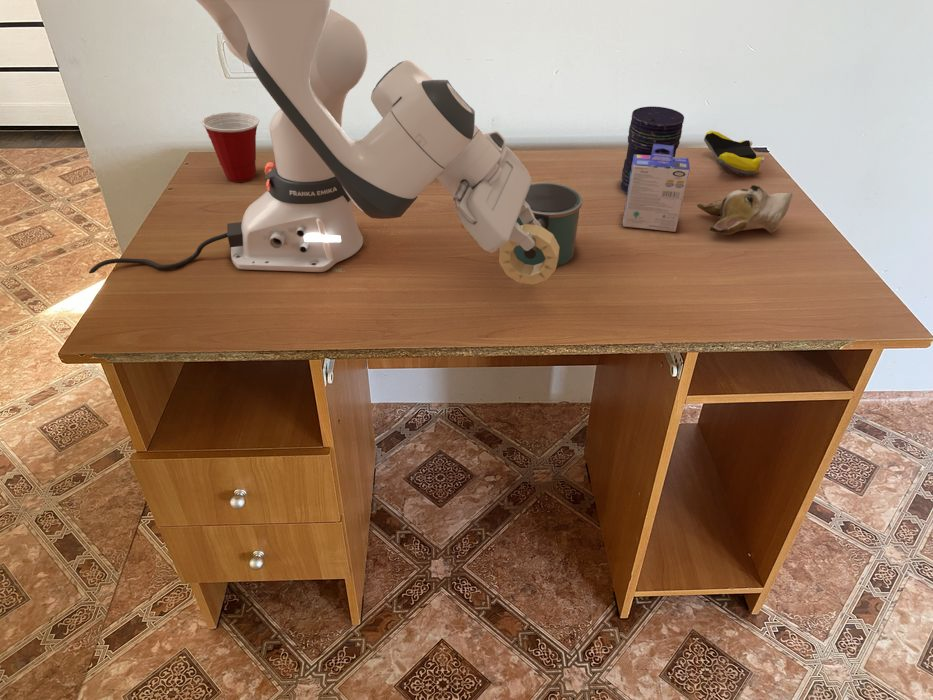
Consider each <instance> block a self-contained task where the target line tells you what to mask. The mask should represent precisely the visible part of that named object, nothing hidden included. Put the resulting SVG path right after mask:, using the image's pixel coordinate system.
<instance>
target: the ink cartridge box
mask: <svg viewBox="0 0 933 700" xmlns="http://www.w3.org/2000/svg"><path fill="white" fill-rule="evenodd" d="M657 149H666V150H668V151H670V153H669V154H660V153H656V152H655V150H657ZM673 149H674V146H671V145H661V144H653V149H652V153H651V155H637V154H634V156H633V162H632V168H631V173H630V180H629V186H628V192H627V194H626V199H625V206H624V212H623V217H622V224H621V225H622V227H625V228H635V229H643V230H644V229H645V230H654V231H663V232H673V233H675V232H677V229H678V228H677V227H678V223H679V220H680V219H679V218H680V215H681V210H682V206H683V201H684V197H685V192H686V187H687V183H688V179H689V176H690V175H689V174H690V170H691V167H690V161H689V157H680V156H679V157H677V156H675V157H673Z"/></svg>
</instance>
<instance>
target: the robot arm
mask: <svg viewBox="0 0 933 700" xmlns="http://www.w3.org/2000/svg"><path fill="white" fill-rule="evenodd" d="M195 1H196V2H197V3H198V4H199V5H201V7H202V8H203V9H204V10H205V11H206V12H207V13H208V15H209V16H210V17H211V19H212V20H213V21H214V23H216V26H217V27H218V28H219V29H220V30H221V32H222V37H223V40H224V43H225V45H226V46H227V49H228V50H229V52H230V53H231V54H233V56H235V57H236V58H237V59H238V60H240V61H241V62H242V63H244V64H245V65H247V66H248V67H249V68H251V69H252V72H254V74H255V76H256V78H257V79H258V80H259V82H260V83H261V85H262V86H263V87H264V89H265V90H266V91H267V93H268V94H269V95H270V97H271V98H272V99H273V101H274V102H275V103H276V105H277V106H278V108H280V109H278V111H277V112H275V113H274V114H273V115H272V117H271V119H270V122H269V133H270V134H269V135H270V140H271V145H272V150H273V156H274V157H273V158H274V161H269V162H266V164H265V165H264V174H265V186H266V189H267V191H265V192H264V193H262V194H261V195H260V196H259V197H257V199H256V200H254V201H253V202H251V204H250V205H248V207H247V208H246V210H245V212H244V214H243V216H242V220H241V221H238V222H230V223H227V225H226V227H227V228H226V231H227V232H224V233H221V234H218V235H216V236H215V235H214V236H213V237H210V238H208V239H206V240H204V241H203V242H201V243H200V244H199V246H197V247H196V250H195V252H194V253H193V254H191V255H190V256H189V257H187V258H185V259H183V260H181V261H179V262H175V263H169V264H160V263H157V262H155V261H153V260H150V259H146V258H121V257H120V258H117V257H116V258H108V259H105V260H102V261H100V262H98V263H96V264H95V265H93V267H91V268H90V270H89V271H88V274H94V273H96V272H97V271H98V270H99V269H101V268H102V267H104V266H107V265H111V264H145V265H149V266H151V267H153V268H156V269H158V270H172V269H177V268H180V267H184V266H186V265H187V264H189V263H191V262H192V261H194V260H195V259H197V258H198V257H199V256H200V254H201V253H202V251H203V249H204V248H205V247H206V246H208V245H210V244H212V243H214V242H217V241H220V240H225V239H226V238H227V240H228V244H229V248H230V257H231V262H232V264H233V266H235V267H236V268H237V269H238V270H250V271H251V270H253V271H277V272H279V271H280V272H306V273H307V272H308V273H324V272H326V271H328V270H330V269H331V268H332V267H334V265H336V264H337V263H340V262H341V261H344V260H346V259H349V258H350V257H352V256H354V255H355V254H357V253H358V252H359V251H360V250H361V248H362V247H363V245H364V237H363V234H362V232H361V231H360V228H359V225H358V222H357V219H356V215H355V212H354V208H353V204H354V205H355V206H356V208H357V209H359V210H360V211H361V213H364V214H366V216H368V217H369V218H371V219H378V220H379V219H380V220H387V219H397V218H401V217H402V216H403V215H404V214H405V213H406V211H407V210H408V209H409V208H410V207H411V206H412V205H413V204H414V202H415V201H416V200H417V199H418V197H419V195H420V194H422V192H423V191H425V189H427V188H428V187H429V186H430V185H431V184H432V183H433V182H434V181H435V180H437V181H438V182H439V183H440V184H441V186H443V188H444V189H445V190H446V191H447V192H448V193H449V194H450V195H451V196H452V200H453V201H454V205H455V210H456V215H457V217H458V220H459V221H460V223H461V224H462V226H463V227H464V228H465V229H466V231H467V233H469V235H470V236H471V237H472V238H473V240H474V241H475V242H476V243H477V244H478V245H479V246H480V248H481V249H483V251H485V252H487V253H490V254H493V253H494V252H495V253H496V251H498V250H500V248H501V247H502V246H503V245H504V244H506V243H507V242H508V240H511V241H513V242H516V243H518V244H519V245H520V246H521V247H522V248H523V249H524V250H525V251H529V250H530V249H531V248H533V247H534V245H535V242H536V239H535V238H534V237H533V236H532V234H531V233H530V232H528V233H526V232H524V231H523V230H522V229H520V225H519V224H518V223H517V222H516V221H517V218H518V217H519V218H520V220H521V221H522V223H523V224H531V225H539V226H541V224H540V223H539V222H538V221H537V220H536V218H535V217H534V215H533V212H532V210H531V208H530V206H529V204H528V203H527V202H526V201H525V198H526V196H527V193H528V191H529V188H530V186H531V184H532V183H533V180H532V176H531V175H530V172H529V170H528V169H527V167H525V166H524V164H523V162H522V161H521V160H520V159H519V158H518V157H517V155H516V154H515V153H514V151H513V150H512V149H510V148H509V147H508V146H506V145H505V144H506V139H505V138H504V136H503V135H502V134H501V133H500V132H499V131H497V130H494V131H492V132H487V133H486V132H485V133H484V132H483V131H482V130H481V129H480V128H479V127H478V126H477V125H476V124H475V123H476V122H475V121H476V111H475V110H474V108H473V107H472V106H470V105H469V104H468V103H467V102H466V101H465V100H464V99H463V98H462V96H461V95H460V94H459V93H458V92H457V91H456V89H454V87H453V86H452V84H451V83H450V82H449V80H448V79H434V78H433V77H432V76H430V74H428V73H427V72H426V71H425V70H424V69H422V68H421V66H419V65H418V64H416V63H415V62H414V61H412V60H404V61H403V60H402V61H401V62H398V63H397V64H396V65H395V66H393V67H391V68H390V69H389V70H387V72H386V73H384V75H383V76H382V77H381V78H380V79H379V80H378V82H377V83H376V85H375V87H374V88H373V90H372V91H371V95H370V102H371V103H372V105H373V106H374V108H375V109H376V111H377V112H378V114H379V115H380V116H381V118H382V119H381V120H380V121H379V122H378V123H377V124H376V125H375V126H374V127H373V128H371V130H370V131H368V133H367V134H366V135H365V136H364V137H362V138H360V139H359V140H353V139H351V138H350V137H349V136H348V135H347V133H346V132H345V130H344V129H343V115H344V109H345V103H346V100H347V97H348V95H349V93H350V91H351V90H352V89H354V88H355V87H356V86H357V85H358V84H359V83H360V82H361V80H362V78H363V76H364V75H365V72H366V69H367V66H368V60H369V48H368V47H369V46H368V42H367V39H366V37H365V34H364V33H363V31H362V29H361V28H360V27H359V26H358V24H357V23H355V22H353V21H352V20H350V19H349V18H347V17H346V16H344V15H342V14H341V13H339V12H337V11H335V10H333V9H331V5H332V0H195ZM352 203H353V204H352Z"/></svg>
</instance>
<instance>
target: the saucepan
mask: <svg viewBox="0 0 933 700" xmlns="http://www.w3.org/2000/svg"><path fill="white" fill-rule="evenodd" d="M525 201H526V202H527V203H528V204H529V206H530V208H531V210H532V212H533V215H534V217H535V218H536V220H537V221H538V222H539V223H540V224H541V226H542V227H543V228H545V229H546V230H548V231H549V232H551V233H552V234H553V235H554V237H555V239H556V241H557V243H558V245H559V247H560V248H559V257H558V262H557V266H556V267H559V266H561V265H564V264H567V263H568V262H569V261H571V260H572V258H573V257H574V254H575V249H576V240H577V233H578V224H579V217H580V210H581V208H582V206H583V197H582V195H581V193H579V192H578V191H577V190H575V188H572V187H570V186H568V185H564V184H560V183H555V182H532V183H531V186H530V188H529V191H528V193H527V196H526V198H525ZM516 222H517V223H518V224H519V225H520V226H521V225H523V223H522V221H521V220H520V218H519V217H518V218H517V221H516ZM514 253H515V255H516V257H517V259H518V260H520V261H521V262H523V263H524V264H528V265H537V264H540V263H542V262H543V261H544V260H545V259H546V258H545V256H544V254H543V252H542V250H541V249H539V248H538V247H536V246H535V245H534V247H533V248H531V249H530V250H529V251H525V250H524V249H523V248H522V247H521V246H520V245H518V246H516V247H515V248H514Z"/></svg>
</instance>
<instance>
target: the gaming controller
mask: <svg viewBox="0 0 933 700" xmlns="http://www.w3.org/2000/svg"><path fill="white" fill-rule="evenodd" d="M703 141H704V143H705V145H706V146H707V148H708V149H709V150H710V151H711V153H712V154H713V155H714V157H715V158H716V160H717V163H718V165H719V166H720V168H721V169H723V171H725V172H726V173H728V174H735V175H738V176H740V177H744V178H748V177H750V176H751V175H756V174H758V173H759V170H760V166H761V164H762V162H763V161H764V160H765V157H764V156H757V154H756V152H755V151H754V149H753V148H752V146H753V141H752V140H750V139H749V140H745V139H744V140H740V141H736V140H734V139H731V138H730V137H727V136H726V135H724V134H722V133H721V132H719V131H715V130H709V131H707V132H706V133H705V136H704V138H703Z"/></svg>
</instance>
